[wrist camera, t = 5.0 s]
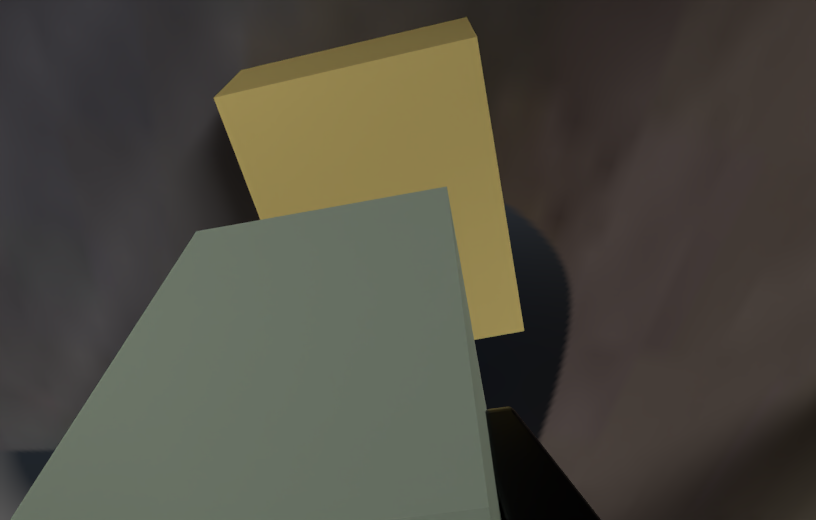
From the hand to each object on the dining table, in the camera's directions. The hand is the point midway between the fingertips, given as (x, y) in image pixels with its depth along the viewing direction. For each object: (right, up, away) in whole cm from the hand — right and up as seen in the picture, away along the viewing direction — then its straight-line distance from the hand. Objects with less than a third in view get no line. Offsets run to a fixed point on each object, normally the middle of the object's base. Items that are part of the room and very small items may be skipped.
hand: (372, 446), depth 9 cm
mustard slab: (0, +5, +9) cm, 10 cm away
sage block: (0, 0, +1) cm, 1 cm away
